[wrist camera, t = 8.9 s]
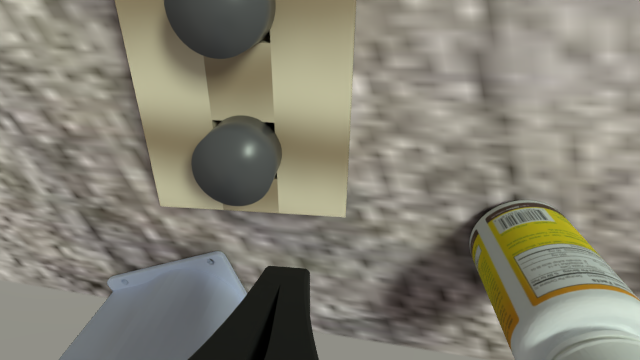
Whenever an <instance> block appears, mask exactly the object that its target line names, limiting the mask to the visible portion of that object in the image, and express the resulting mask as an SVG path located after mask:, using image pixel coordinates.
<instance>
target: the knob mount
mask: <svg viewBox="0 0 640 360" xmlns="http://www.w3.org/2000/svg"><path fill="white" fill-rule="evenodd" d="M275 3H276V11H275V18H274V21H273V24H272V27H271V29H270V35H268V34H267V35H266V36H265V38H264V39H263V40H262V41H261V42H259V43H258V44H256V45H255V46H253V47H251V48H250V49H248V50H246V51H244V52H243V53H241V54H239V55H237V56H234V57H231V58H226V59H214V58H209V57H206V56H203V55H200V54H198V53H196V52H195V51H193V50H192V49H190V48H189V47H188V46H187V45H185V44H184V43H183V42H182V41H181V40H180V39H179V37H178V36H177V35H176V33H175V32H174V30H173V28H172V27H171V25H170V23H169V20H168V18H167V15H166V11H165V7H164V0H115V4H116V8H117V13H118V17H119V22H120V26H121V31H122V35H123V40H124V44H125V49H126V53H127V58H128V62H129V67H130V71H131V76H132V80H133V85H134V89H135V94H136V98H137V103H138V107H139V112H140V116H141V121H142V125H143V130H144V134H145V139H146V143H147V148H148V152H149V157H150V161H151V166H152V170H153V175H154V179H155V184H156V188H157V193H158V197H159V202H160V206H165V207H182V208H199V209H216V210H233V211H250V212H267V213H284V214H301V215H318V216H335V217H345V214H346V198H347V180H348V159H349V138H350V118H351V97H352V77H353V56H354V36H355V15H356V0H275ZM237 115H244V116H250V117H254V118H256V119H258V120H260V121H262V122H272V123H274V124H275V134H276V135H277V137H278V139H279V142H280V144H281V148H282V159H281V163H280V166H279V168H278V171H277V173H276V175H275V178H274V180H273V182H272V184H271V187H270V189H269V191H268V192H267V193H266V195H265V196H264V197H263V198H262V199H260V200H259V201H257V202H255V203H253V204H250V205H246V206H230V205H226V204H223V203H220V202H218V201H216V200H214V199H212V198H211V197H210V196H208V195H207V194H206V193H205V192H204V191H203V190H202V189H201V188H200V186H199V185H198V184H197V182H196V180H195V178H194V175H193V172H192V166H191V160H192V155H193V152H194V150H195V148H196V146H197V145H198V143H199V142H200V141H201V140H202V139H203V138H204V137H205V136H206V135H207V134H208V133H209V132H210V131H211V130H212V129H213V128H214V127H215V126H217V125H218V124H219V123H220V122H221V121H223V120H224V119H226V118H229V117H232V116H237Z"/></svg>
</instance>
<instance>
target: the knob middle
mask: <svg viewBox="0 0 640 360" xmlns="http://www.w3.org/2000/svg"><path fill="white" fill-rule="evenodd" d="M164 7H165V11H166V15H167V18H168V20H169V23H170V25H171V27H172V28H173V30H174V32H175V33H176V35H177V36H178V37H179V39H180V40H181V41H182V42H183V43H184V44H185V45H187V46H188V47H189V48H190V49H192V50H193V51H195V52H196V53H198V54H200V55H203V56H206V57H209V58H214V59H226V58H231V57H234V56H237V55H239V54H241V53H243V52H244V51H246V50H248V49H250V48H251V47H253V46H255V45H256V44H258V43H259V42H261V41H262V40H263V39H264V38H265V36H266V35H267V34H268V32H269V31H270V29H271V27H272V24H273V21H274V18H275V11H276V3H275V0H164Z"/></svg>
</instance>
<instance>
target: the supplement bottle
mask: <svg viewBox="0 0 640 360" xmlns="http://www.w3.org/2000/svg"><path fill="white" fill-rule="evenodd" d="M469 247H470V253H471V256H472V259H473V261H474V264H475V266H476V269H477V271H478V273H479V275H480V278H481V280H482V282H483V285H484V287H485V290H486V292H487V294H488V297H489V299H490V301H491V304H492V306H493V308H494V311H495V313H496V315H497V318H498V320H499V322H500V325H501V327H502V330H503V332H504V334H505V337H506V339H507V342H508V344H509V347H510V349H511V351H512V354H513V356H514V358H515V360H640V300H639V299H638V298H637V296H636V295H635V294H634V293H633V292H632V291H631V290H630V289H629V288H628V287H627V286H626V284H625V283H624V282H623V281H622V280H621V279H620V278H619V277H618V276H617V274H616V273H615V272H614V271H613V270H612V269H611V268H610V267H609V266H608V265H607V263H606V262H605V261H604V260H603V259H602V258H601V257H600V256H599V254H598V253H597V252H596V251H595V250H594V249H593V248H592V247H591V246H590V245H589V244H588V242H587V241H586V240H585V239H584V238H583V237H582V236H581V235H580V234H579V232H578V231H577V230H576V229H575V228H574V227H573V226H572V225H571V223H570V222H569V221H568V220H567V219H566V218H565V217H564V216H563V215H562V214H561V213H560V212H559V211H558V210H556V209H555V208H553V207H552V206H550V205H547V204H545V203H542V202H538V201H532V200H518V201H512V202H508V203H505V204H502V205H499V206H497V207H495V208H494V209H492V210H490V211H489V212H487V213H486V214H485V215H484V216H483V217H482V218H481V219H480V220H479V221H478V222H477V224H476V225H475V227H474V228H473V230H472V233H471V236H470V242H469Z"/></svg>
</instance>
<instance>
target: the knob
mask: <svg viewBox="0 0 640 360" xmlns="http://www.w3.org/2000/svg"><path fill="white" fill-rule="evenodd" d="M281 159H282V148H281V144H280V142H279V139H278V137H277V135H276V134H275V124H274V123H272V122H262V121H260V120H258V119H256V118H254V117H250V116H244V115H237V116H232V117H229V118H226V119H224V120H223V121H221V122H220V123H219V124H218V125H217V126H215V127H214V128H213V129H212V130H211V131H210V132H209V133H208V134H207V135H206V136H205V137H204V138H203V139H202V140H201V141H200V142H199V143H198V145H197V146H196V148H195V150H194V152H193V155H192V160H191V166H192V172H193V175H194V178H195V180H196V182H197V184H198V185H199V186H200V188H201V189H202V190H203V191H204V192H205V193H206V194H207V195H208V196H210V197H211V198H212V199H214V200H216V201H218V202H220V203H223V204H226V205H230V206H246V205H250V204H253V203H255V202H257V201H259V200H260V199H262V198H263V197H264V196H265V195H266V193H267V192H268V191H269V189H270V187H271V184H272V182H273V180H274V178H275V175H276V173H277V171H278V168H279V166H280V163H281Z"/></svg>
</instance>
